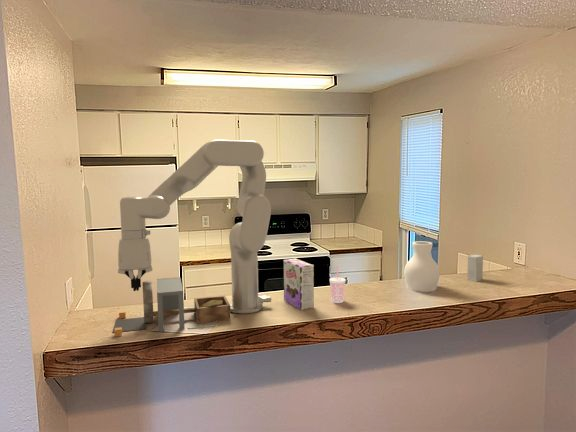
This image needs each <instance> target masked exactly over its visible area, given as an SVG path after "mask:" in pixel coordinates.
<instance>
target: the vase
mask: <svg viewBox="0 0 576 432" xmlns="http://www.w3.org/2000/svg"><path fill="white" fill-rule="evenodd" d="M411 243H412V244H411V245H412V249H413V255H412V257H411V258H410V259H409V260H408V261H407V263H406V264H405V266H404V270H403V271H404V272H403V273H404V275H403V276H404V280H405V284H406V285H405V286H406V288H407V289H408V290H411V291H414V292H420V293H421V292H422V293H424V292H426V293H429V292H434V291H436V290H437V287H438V285H439V280H440V274H441V273H440V272H441V270H440V266H439V264H438V263H437V262H436V261H435V259H434V258H433V256H432V253H431V251H432V249H433V242H431V241H425V240H424V241H421V240H418V241H417V240H416V241H413V242H411Z"/></svg>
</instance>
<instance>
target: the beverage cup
mask: <svg viewBox="0 0 576 432" xmlns="http://www.w3.org/2000/svg"><path fill="white" fill-rule="evenodd" d="M329 283H330V285H329V286H330V298H331V301H330V302H331V303H335V304H341V303H343V302H344V298H345V285H346V284H345V283H346V278H344V277H339V266H338V265H337V266H336V277H331V278H329Z"/></svg>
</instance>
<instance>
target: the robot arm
mask: <svg viewBox="0 0 576 432" xmlns="http://www.w3.org/2000/svg"><path fill="white" fill-rule="evenodd" d="M264 155H265V152H264V148H263V146H262V145H261V144H260V143H259V142H257V141H255V140H237V139H235V140H229V139H214V140H213V139H212V140H210V141H207V142H205V143H204V144H203V145H202V146H200V147H199V149H198V150H196V152H194V153H193V154H192V155H191V156H190V157H189V158H188V159H187V160H186V161H185V162H184V163H183V164H181V165H180V166H179V167H178V168H177V169H176V170H175V171H174V172H172V174H171V175H170V176H169V177H168V178H166V179H165V180H164V181H163V182H162V183H161V184H160V185H159V186H158V187H157V188H155V189H154V191H152V192H151V193H150V194H149V195H148V196H147V197H141V196H125V197H122V198H121V199H120V200H119V209H120V213H119V214H120V231H121V233H120V234H121V235H120V236H121V238H120V239H119V241H118V249H117V250H118V251H117V253H118V254H117V256H118V257H117V259H118V260H117V263H118V270H117V273H118V274H121V275H125V276H126V277H128V278H129V279H130V286H131V287H130V288H131V289H132V290H133V292H136V291H137V292H138V291H139V290H140V288H141V287H142V277H143V276H144V275H146V274H147V273H150V272H152V271H153V266H152V254H151V253H152V252H151V243H150V239H149V237H147V236H149V235H151V230H147V228H146V219H148V220H149V219H150V220H151V219H152V220H161V219H164V218H166V217H167V216H168V215H169V213H170V211H171V205H172V204H173V203H174V202H176V201H177V200H178V199H179V198H180V197H182V196H183V195H184V194H186V193H188V192H190V191H192V190H194V189H195V188H197V187H198V186H199V185H200V184H201V183H202V182H203V181H204V180H205V179H206V178H207V177H208V176H210V174H211V173H213V171H215V170H216V169H217V168H218V167H221V166H222V167H223V166H224V167H239V168H240V170H241V175H242V177H241V184H240V186H241V187H240V191H239V196H238V200H237V205H236V207H237V209H236V210H237V213H238V214H239V216H241V217H242V221H241V222H237V223H235V224H234V225H233V226H232V227H231V229H230V231H229V234H228V235H229V236H228V240H229V248H230V249H229V250H230V263H231V300H232V301H231V302H229V304H230V313H235V314H252V313H257V312H259V311H261V310H262V309H263V308H264V306H263V304H264V303H271V302H272V297H271V296H267V295H262V296H261V295H259V262H258V261H259V260H258V259H259V258H258V257H259V256H258V252H260V250H261V249H262V248H263V247H264V245H265V243H266V240H267V235H268V230H269V225H270V220H271V214H272V206H271V203H270V200H269V198H267V196H265V190H266V189H265V188H266V184H267V172H266V167H265V165H264V162H263V159H264ZM135 270H137V274H136V275H135V274H134V271H135Z"/></svg>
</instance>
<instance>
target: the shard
mask: <svg viewBox="0 0 576 432" xmlns="http://www.w3.org/2000/svg"><path fill="white" fill-rule="evenodd" d="M222 303H223V301H222V300H211V301H209V302H207V303H205V304H203V305H202V306H201V307H199V308H202V307H212V306H221V305H222Z"/></svg>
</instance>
